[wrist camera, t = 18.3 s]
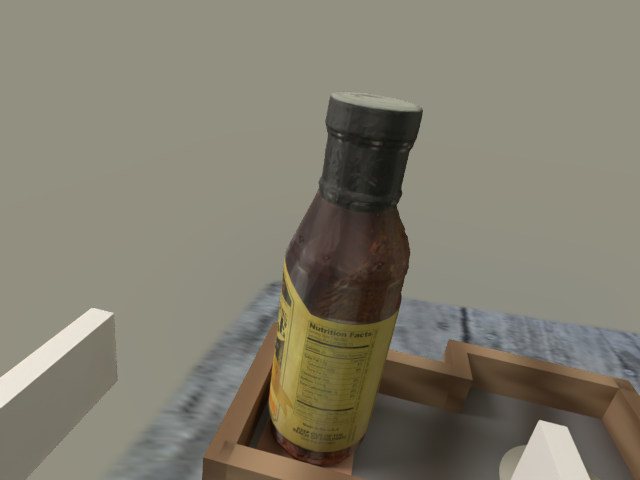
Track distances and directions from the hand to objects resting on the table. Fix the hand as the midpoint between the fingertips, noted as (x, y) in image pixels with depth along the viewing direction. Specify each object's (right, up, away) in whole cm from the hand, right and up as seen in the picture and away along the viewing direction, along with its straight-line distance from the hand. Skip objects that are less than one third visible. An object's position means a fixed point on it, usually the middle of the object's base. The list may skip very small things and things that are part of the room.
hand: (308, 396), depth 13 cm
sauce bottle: (0, -7, +13) cm, 15 cm away
